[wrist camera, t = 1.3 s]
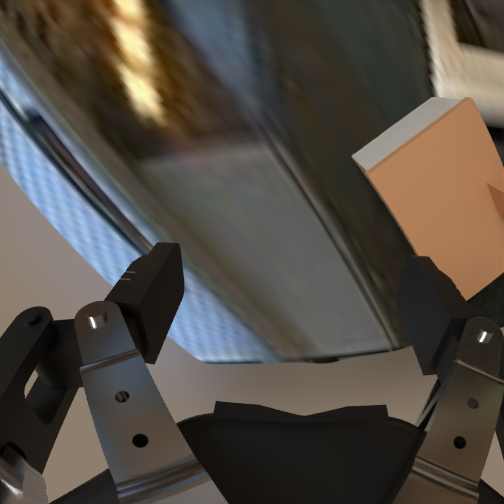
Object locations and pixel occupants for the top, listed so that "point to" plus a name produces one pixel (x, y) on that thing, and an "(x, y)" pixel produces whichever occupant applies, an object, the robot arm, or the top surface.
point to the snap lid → (449, 196)
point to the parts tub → (401, 136)
